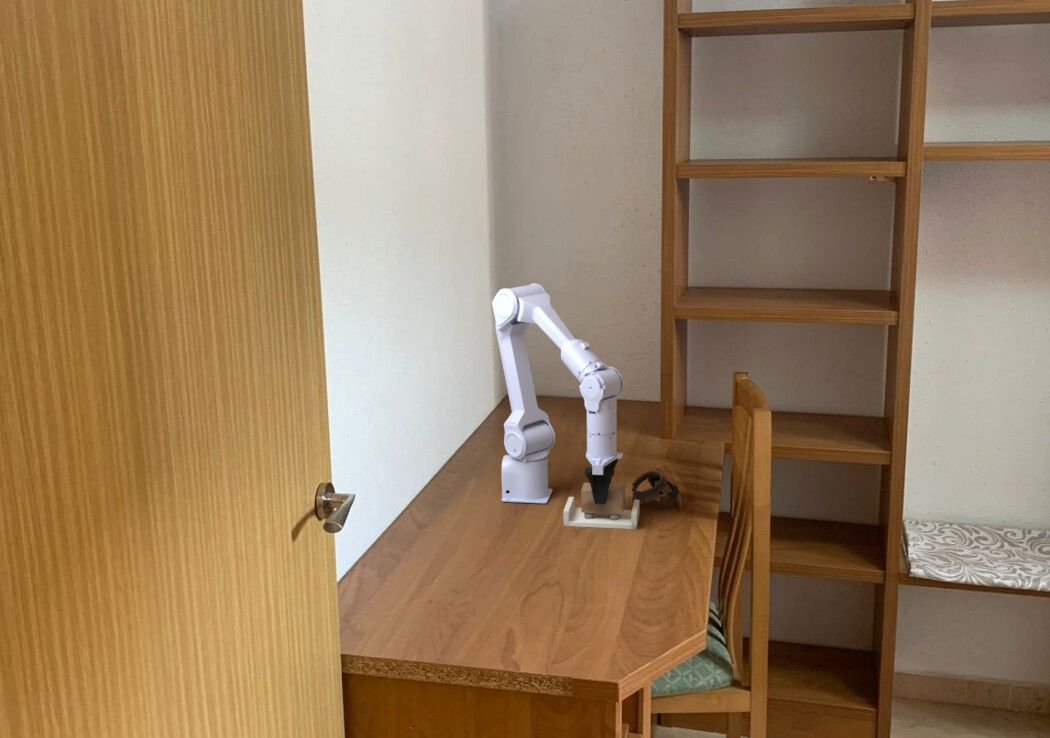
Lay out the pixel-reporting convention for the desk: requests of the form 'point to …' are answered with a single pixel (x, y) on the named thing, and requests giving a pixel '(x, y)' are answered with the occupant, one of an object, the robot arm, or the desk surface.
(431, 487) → the desk surface
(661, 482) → the pottery mug
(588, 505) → the tan rectangular block
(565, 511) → the peg stand
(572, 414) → the desk surface
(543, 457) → the robot arm
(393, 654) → the desk surface
